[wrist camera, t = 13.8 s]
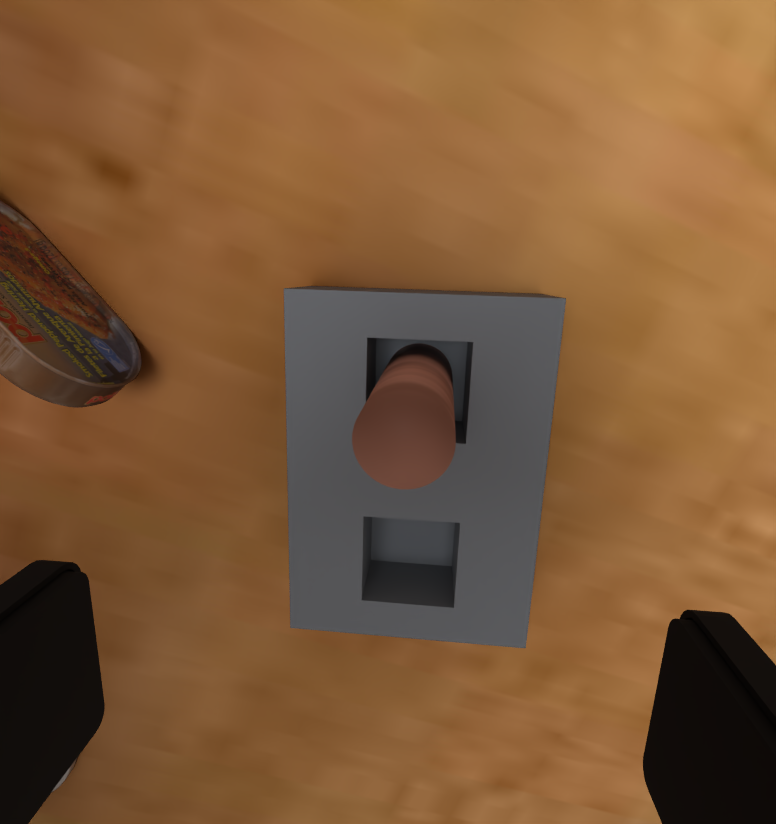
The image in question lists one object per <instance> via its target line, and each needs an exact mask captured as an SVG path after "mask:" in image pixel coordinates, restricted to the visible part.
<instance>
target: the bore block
mask: <svg viewBox="0 0 776 824" xmlns="http://www.w3.org/2000/svg"><path fill="white" fill-rule="evenodd" d="M565 303H566V298H561V297H555V296H550V295H545V294H529V293H500V292H471V291H442V290H413V289H384V288H355V287H326V286H306V287H295V288H285V289H284V320H285V372H286V423H287V474H288V526H289V577H290V628H299V629H310V630H322V631H333V632H345V633H356V634H368V635H379V636H391V637H402V638H414V639H425V640H437V641H448V642H459V643H471V644H482V645H494V646H505V647H517V648H526V640H527V631H528V623H529V614H530V606H531V597H532V588H533V580H534V571H535V562H536V554H537V545H538V536H539V528H540V519H541V511H542V502H543V493H544V485H545V476H546V467H547V459H548V450H549V441H550V433H551V424H552V416H553V407H554V398H555V390H556V381H557V372H558V364H559V355H560V346H561V338H562V329H563V321H564V312H565ZM416 343H422V344H427V345H431V346H433V347H435V348H437V349H438V350H440V351H441V352H442V353H443V354H444V355H445V356H446V358H447V359H448V361H449V363H450V366H451V369H452V379H453V397H454V416H455V434H456V447H455V453H454V456H453V459H452V461H451V463H450V465H449V467H448V468H447V470H446V471H445V472H444V473H443V474H442V475H441V476H440V477H439V478H438V479H436V480H435V481H433V482H432V483H430V484H428V485H426V486H423V487H420V488H416V489H408V490H407V489H395V488H391V487H387V486H385V485H383V484H380V483H379V482H377V481H375V480H374V479H373V478H371V477H370V476H369V475H368V474H367V473H366V472H365V471H364V470H363V469H362V467H361V466H360V464H359V463H358V461H357V459H356V457H355V454H354V450H353V445H352V433H353V428H354V424H355V422H356V419H357V417H358V416H359V414H360V412H361V410H362V408H363V407H364V405H365V403H366V401H367V400H368V398H369V396H370V394H371V393H372V391H373V389H374V387H375V386H376V384H377V382H378V380H379V379H380V377H381V375H382V373H383V372H384V370H385V368H386V366H387V365H388V363H389V361H390V359H391V358H392V356H393V355H394V354H395V353H396V352H397V351H398V350H400V349H401V348H403V347H405V346H407V345H410V344H416Z"/></svg>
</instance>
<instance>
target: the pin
mask: <svg viewBox="0 0 776 824" xmlns="http://www.w3.org/2000/svg"><path fill="white" fill-rule="evenodd" d="M352 445H353V450H354V454H355V457H356V459H357V461H358V463H359V464H360V466H361V467H362V469H363V470H364V471H365V472H366V473H367V474H368V475H369V476H370V477H371V478H373V479H374V480H375V481H377V482H379V483H380V484H383V485H385V486H387V487H391V488H395V489H407V490H408V489H416V488H420V487H423V486H426V485H428V484H430V483H432V482H433V481H435V480H436V479H438V478H439V477H440V476H441V475H442V474H443V473H444V472H445V471H446V470H447V468H448V467H449V465H450V463H451V461H452V459H453V456H454V453H455V447H456V434H455V416H454V397H453V379H452V369H451V366H450V363H449V361H448V359H447V358H446V356H445V355H444V354H443V353H442V352H441V351H440V350H438V349H437V348H435V347H433V346H431V345H427V344H422V343H416V344H410V345H407V346H405V347H403V348H401V349H400V350H398V351H397V352H396V353H395V354H394V355H393V356H392V358H391V359H390V361H389V363H388V365H387V366H386V368H385V370H384V372H383V373H382V375H381V377H380V379H379V380H378V382H377V384H376V386H375V387H374V389H373V391H372V393H371V394H370V396H369V398H368V400H367V401H366V403H365V405H364V407H363V408H362V410H361V412H360V414H359V416H358V417H357V419H356V422H355V424H354V428H353V433H352Z"/></svg>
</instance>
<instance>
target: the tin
mask: <svg viewBox="0 0 776 824" xmlns="http://www.w3.org/2000/svg"><path fill="white" fill-rule="evenodd" d="M141 363H142V361H141V353H140V349H139V346H138V344H137V342H136V340H135V338H134V336H133V334H132V333H131V331H130V330H129V328H128V327H127V325H126V324H125V323H124V322H123V321H122V320H121V319H120V317H119V316H118V315H117V314H116V313H115V312H114V311H113V310H112V309H111V308H110V307H109V306H108V305H107V303H106V302H105V301H104V300H103V299H102V298H101V297H100V296H99V295H98V294H97V292H96V291H94V289H93V288H92V287H91V286H90V285H89V284H88V283H87V282H86V281H85V280H84V279H83V277H82V276H81V275H80V274H79V273H78V272H77V271H76V270H75V269H74V268H73V267H72V266H71V264H70V263H69V262H68V261H67V260H66V259H65V258H64V257H63V256H62V255H61V254H60V252H59V251H58V250H57V249H56V248H55V247H54V246H53V245H52V244H51V243H50V242H49V240H48V239H47V238H46V237H45V236H44V235H43V234H42V233H41V232H40V231H39V230H38V229H37V228H36V227H35V226H34V225H33V224H32V223H31V222H30V221H29V220H27V219H26V218H25V217H23V216H22V215H21V214H19V213H18V212H17V211H15V210H14V209H13V208H11V207H10V206H8V205H7V204H5V203H4V202H2V201H0V374H1V375H3V376H4V377H5V378H6V379H8V380H9V381H10V382H11V383H13V384H14V385H16V386H18V387H19V388H21V389H22V390H24V391H26V392H28V393H30V394H32V395H34V396H36V397H38V398H41V399H43V400H46V401H48V402H51V403H55V404H59V405H63V406H68V407H87V406H93V405H97V404H101V403H104V402H106V401H107V400H109V399H111V398H112V397H113V396H114V395H116V394H117V393H118V392H119V391H120V390H121V389H122V388H123V387H124V386H125V385H126V384H128V383H129V382H131V381H132V380H134V379H135V378H136V376H137V375H138V373H139V372H140V369H141Z"/></svg>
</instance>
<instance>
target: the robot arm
mask: <svg viewBox="0 0 776 824" xmlns="http://www.w3.org/2000/svg"><path fill="white" fill-rule="evenodd" d="M103 715H104V697H103V689H102V681H101V673H100V665H99V657H98V650H97V642H96V634H95V626H94V618H93V610H92V602H91V595H90V587H89V580H88V577H87V575H86V574H85V573H83V572H81V570H80V568H79V567H78V565H77V564H75V563H73V562H61V561H48V560H38V561H35V562H33V563H31V564H29V565H28V566H27V567H25V568H24V569H22V570H21V571H20V572H18V573H17V574H15V575H14V576H13V577H11V578H10V579H8V580H7V581H6V582H4V583H3V584H1V585H0V824H28V823H29V822H30V820H31V819H32V818H33V816H34V815H35V814H36V812H37V811H38V810H39V808H40V807H41V806H42V804H43V803H44V801H45V800H46V799H47V797H48V796H49V795H50V793H52V792H53V791H54V790H56V789H57V788H58V787H59V786H60V785H61V784H62V783H63V782H64V781H65V779H66V778H67V776H68V775H69V774H70V772H71V771H72V769H73V768H74V765H75V763H76V760H77V757H78V756H79V754H80V753H81V752H82V750H83V749H84V748H85V746H86V745H87V744H88V742H89V741H90V740H91V738H92V737H93V735H94V734H95V733H96V731H97V730H98V728H99V726H100V724H101V721H102V718H103ZM643 771H644V777H645V782H646V785H647V788H648V790H649V793H650V795H651V798H652V800H653V803H654V805H655V807H656V810H657V812H658V815H659V817H660V819H661V822H662V824H776V665H775V664H774V663H773V662H772V660H771V659H770V658H769V657H768V656H767V655H766V654H765V652H764V651H763V650H762V649H761V648H760V647H759V646H758V645H757V643H756V642H755V641H754V640H753V639H752V638H751V637H750V635H749V634H748V633H747V632H746V631H745V630H744V629H743V627H742V626H741V625H740V624H739V623H738V622H737V621H736V619H735V618H734V617H732V616H731V615H730V614H728V613H723V612H710V611H697V610H686V611H684V612H683V614H682V615H681V617H680V619H673V620H672V621H671V622H670V624H669V627H668V632H667V637H666V643H665V648H664V653H663V658H662V663H661V668H660V674H659V679H658V684H657V689H656V694H655V700H654V705H653V710H652V715H651V720H650V725H649V731H648V736H647V741H646V746H645V751H644V757H643Z"/></svg>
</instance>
